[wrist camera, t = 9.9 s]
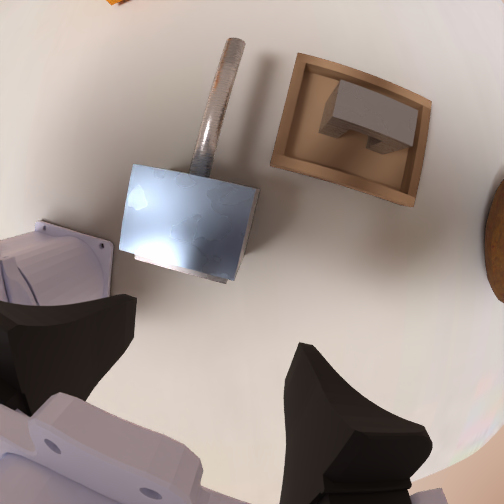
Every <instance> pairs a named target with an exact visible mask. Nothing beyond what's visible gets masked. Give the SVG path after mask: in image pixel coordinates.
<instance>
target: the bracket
mask: <svg viewBox="0 0 504 504" xmlns="http://www.w3.org/2000/svg"><path fill="white" fill-rule="evenodd" d="M107 1H108V2H109V3H110V4H111V5H113V4H115V3H118V2H120V1H122V0H107Z"/></svg>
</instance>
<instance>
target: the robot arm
mask: <svg viewBox="0 0 504 504" xmlns="http://www.w3.org/2000/svg"><path fill="white" fill-rule="evenodd" d="M45 227H46V228H45ZM102 243H103V244H104V248H102V245H101V244H102ZM112 258H113V244H112V243H111V242H110V241H108V240H104V239H101V238H97V237H94V236H90V235H87V234H83V233H80V232H77V231H73V230H70V229H67V228H63V227H60V226H57V225H53V224H50V223H47V222H44V221H37V222H36V223H35V231H34V232H30V233H26V234H22V235H18V236H14V237H11V238H7V239H3V240H0V504H250V503H247V502H244V501H241V500H238V499H235V498H232V497H229V496H226V495H224V494H221V493H218V492H216V491H213V490H211V489H208V488H206V487H203V486H201V484H200V481H201V477H202V474H203V468H202V464H201V461H200V458H199V457H197V456H196V455H195V454H194V453H193V452H192V451H191V450H190V449H189V448H188V447H186V446H185V445H184V444H183V443H180V442H178V441H176V440H174V439H172V438H170V437H168V436H166V435H164V434H161V433H158V432H155V431H152V430H150V429H147V428H144V427H142V426H139V425H137V424H134V423H132V422H129V421H127V420H124V419H122V418H120V417H117V416H115V415H113V414H110V413H108V412H106V411H104V410H102V409H100V408H97V407H95V406H93V405H91V404H89V403H87V402H85V401H86V400H87V398H88V396H89V395H90V393H91V392H92V390H93V389H94V387H95V386H96V385H97V384H98V382H99V381H100V380H101V379H102V378H103V376H104V375H105V374H106V373H107V372H108V371H109V370H110V369H111V367H112V366H113V365H114V364H115V363H116V362H117V361H118V359H119V358H120V357H121V356H122V355H123V354H124V352H125V351H126V349H127V348H128V346H129V344H130V343H131V341H132V340H133V338H134V328H135V315H136V303H137V298H135V297H132V296H129V295H126V294H121V295H115V296H110V297H109V295H110V280H111V268H112ZM284 413H285V429H286V454H285V466H284V475H283V484H282V491H281V498H280V504H448V503H447V500H446V498H445V495H444V493H443V490H442V488H437V489H432V490H427V491H421V492H418V493H415V494H413V495H411V496H409V493H408V490H407V489H410V488H411V485H412V484H411V481H410V477H411V476H412V475H413V474H414V473H415V472H416V471H417V470H418V469H419V468H420V467H421V466H422V464H423V463H424V462H425V461H426V459H427V458H428V457H429V455H430V453H431V451H432V441H431V439H430V437H429V435H428V433H427V431H426V429H425V427H424V426H422V425H419V424H417V423H414V422H411V421H408V420H405V419H403V418H400V417H398V416H396V415H394V414H392V413H390V412H388V411H386V410H384V409H382V408H381V407H379V406H377V405H376V404H374V403H373V402H371V401H369V400H368V399H367V398H365V397H364V396H362V395H361V394H360V393H359V392H357V391H356V390H355V389H354V388H352V387H351V386H350V385H349V384H348V383H347V382H346V381H345V380H344V379H343V378H342V377H341V376H340V375H339V374H338V373H337V372H336V371H335V370H334V369H333V368H332V366H331V365H330V364H329V363H328V362H327V361H326V359H325V358H324V357H323V356H322V355H321V354H320V352H319V351H318V350H317V349H316V348H315V347H314V346H313V345H310V344H305V343H300V342H299V344H298V347H297V350H296V352H295V355H294V358H293V360H292V363H291V366H290V368H289V371H288V373H287V376H286V379H285V387H284Z"/></svg>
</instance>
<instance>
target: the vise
mask: <svg viewBox="0 0 504 504" xmlns="http://www.w3.org/2000/svg"><path fill="white" fill-rule="evenodd" d="M245 45H246V43H245V42H244V41H243V40H241V39H238V38H229V39H227V41H226V44H225V47H224V50H223V53H222V56H221V59H220V62H219V65H218V69H217V72H216V75H215V78H214V81H213V85H212V88H211V92H210V95H209V98H208V102H207V105H206V109H205V112H204V116H203V120H202V123H201V127H200V131H199V135H198V139H197V143H196V147H195V151H194V155H193V159H192V163H191V167H190V172H189V173H184V172H179V171H174V170H169V169H163V168H157V167H150V166H144V165H138V164H133V167H132V172H131V177H130V182H129V187H128V192H127V198H126V204H125V210H124V216H123V222H122V229H121V237H120V245H119V250H123V251H126V252H130V253H133V254H135V259H136V260H140V261H143V262H147V263H150V264H154V265H157V266H161V267H165V268H168V269H172V270H175V271H179V272H183V273H186V274H190V275H194V276H197V277H201V278H205V279H209V280H213V281H216V282H220V283H224V284H226V282H227V280H228V279H229V280H233V281H234V279H235V277H236V274H237V272H238V270H239V267H240V265H241V262H242V260H243V257H244V254H245V250H246V245H247V241H248V237H249V233H250V229H251V225H252V221H253V217H254V212H255V208H256V204H257V200H258V196H259V192H260V189H257V188H253V187H249V186H244V185H240V184H236V183H231V182H227V181H222V180H218V179H213V178H209V176H210V171H211V167H212V163H213V159H214V155H215V151H216V147H217V143H218V139H219V135H220V131H221V127H222V124H223V120H224V116H225V112H226V109H227V105H228V102H229V98H230V94H231V91H232V87H233V84H234V81H235V77H236V74H237V70H238V67H239V64H240V61H241V57H242V54H243V51H244V48H245Z"/></svg>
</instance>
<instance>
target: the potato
mask: <svg viewBox="0 0 504 504" xmlns="http://www.w3.org/2000/svg"><path fill="white" fill-rule="evenodd" d="M485 263H486V270H487V277H488V280H489V283H490V285H491V288H492V290H493V292H494V294H495V295H496V297H497V298H498V300H500V301H501V302H503V303H504V179H503V181H502V182H501V184H500V185H499V187H498V189H497V191H496V193H495V196H494V199H493V201H492V205H491V208H490V212H489V215H488V219H487V223H486V230H485Z"/></svg>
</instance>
